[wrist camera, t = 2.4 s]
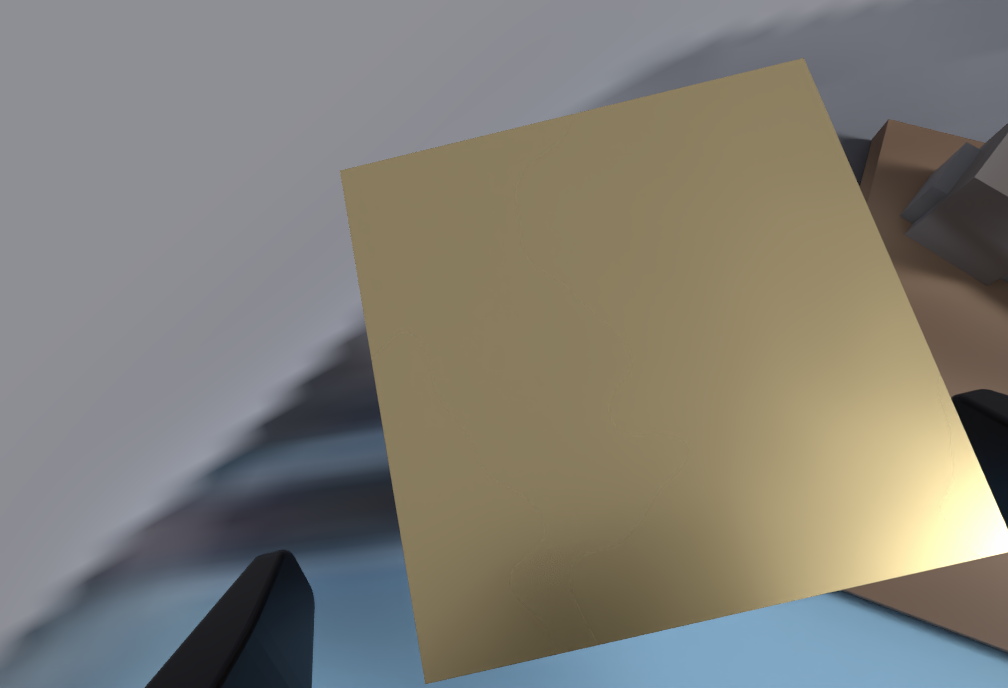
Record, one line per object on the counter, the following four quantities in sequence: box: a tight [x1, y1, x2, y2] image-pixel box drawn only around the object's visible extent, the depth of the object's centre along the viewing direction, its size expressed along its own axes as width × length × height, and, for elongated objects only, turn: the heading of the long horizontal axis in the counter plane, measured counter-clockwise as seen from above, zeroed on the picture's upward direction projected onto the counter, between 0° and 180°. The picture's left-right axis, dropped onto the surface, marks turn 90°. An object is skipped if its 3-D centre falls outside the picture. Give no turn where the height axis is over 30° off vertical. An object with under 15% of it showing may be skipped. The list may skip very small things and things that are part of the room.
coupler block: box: [340, 58, 1008, 684], centre depth 11 cm, size 4×4×13 cm
